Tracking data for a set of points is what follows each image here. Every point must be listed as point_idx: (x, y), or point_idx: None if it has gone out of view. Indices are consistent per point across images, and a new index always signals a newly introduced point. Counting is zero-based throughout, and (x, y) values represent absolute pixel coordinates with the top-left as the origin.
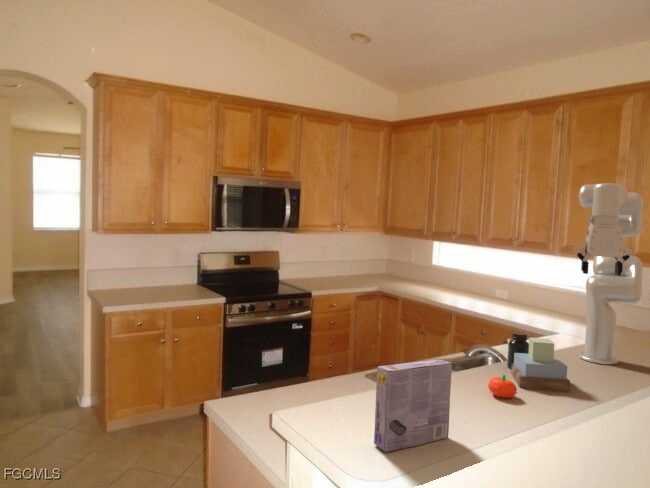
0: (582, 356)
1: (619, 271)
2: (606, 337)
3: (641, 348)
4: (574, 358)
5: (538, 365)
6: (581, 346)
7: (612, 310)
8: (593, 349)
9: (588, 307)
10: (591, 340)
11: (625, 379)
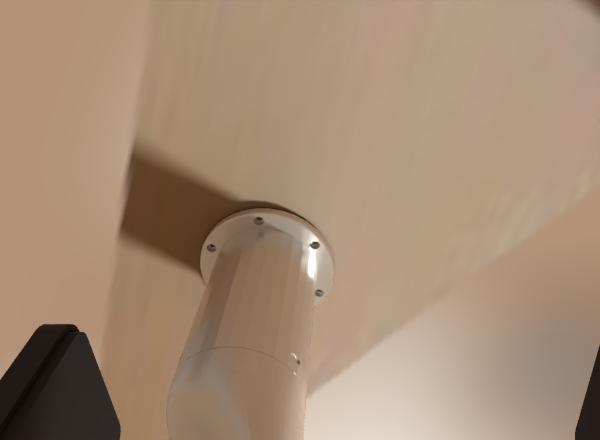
0: (329, 255)
1: (30, 370)
2: (237, 288)
3: None
4: (356, 254)
5: None
6: None
7: (183, 406)
8: (292, 260)
9: (301, 436)
10: (297, 290)
11: (220, 21)
